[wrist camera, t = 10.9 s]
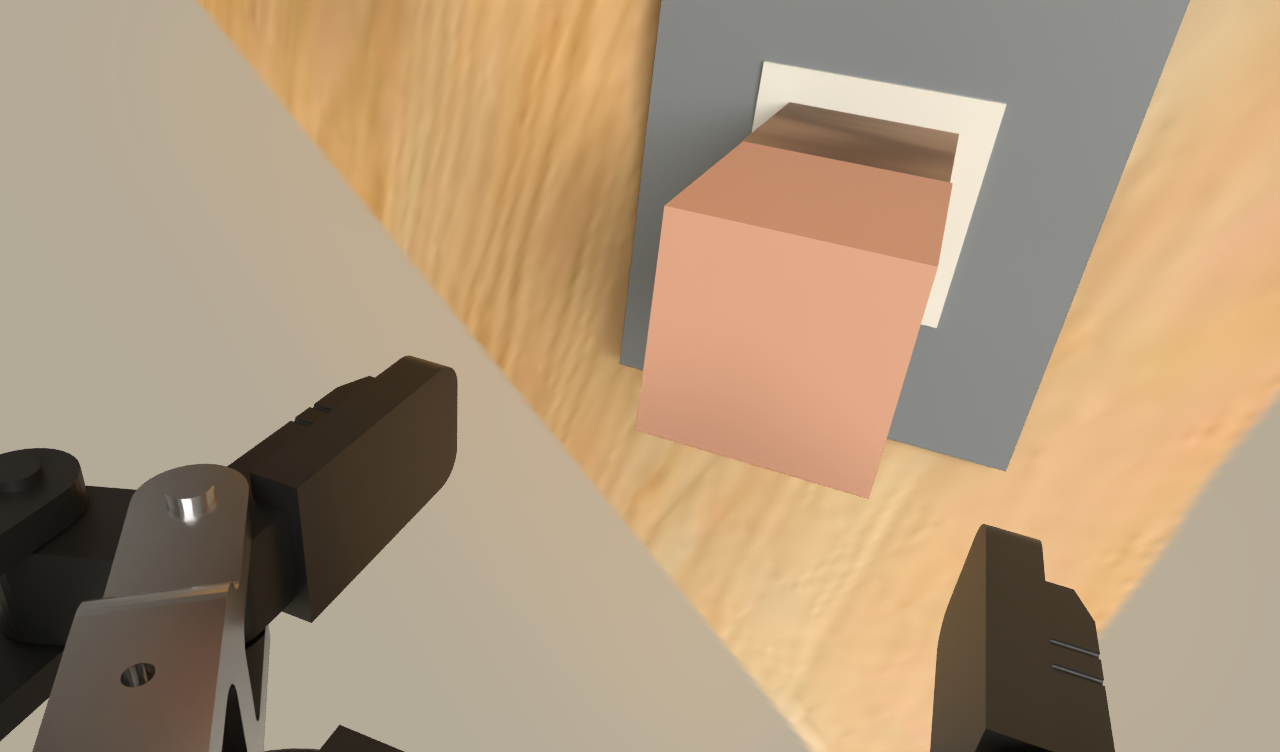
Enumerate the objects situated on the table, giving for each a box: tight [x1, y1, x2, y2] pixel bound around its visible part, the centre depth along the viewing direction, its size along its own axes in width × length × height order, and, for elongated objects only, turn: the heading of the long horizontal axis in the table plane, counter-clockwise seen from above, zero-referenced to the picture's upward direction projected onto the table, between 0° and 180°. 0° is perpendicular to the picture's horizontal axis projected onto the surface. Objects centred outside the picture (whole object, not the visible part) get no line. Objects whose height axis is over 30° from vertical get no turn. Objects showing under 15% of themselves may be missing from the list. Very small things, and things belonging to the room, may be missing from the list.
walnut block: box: [741, 102, 959, 182], centre depth 24 cm, size 5×5×6 cm
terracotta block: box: [636, 141, 953, 499], centre depth 19 cm, size 5×5×6 cm
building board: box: [620, 0, 1190, 471], centre depth 27 cm, size 14×16×1 cm
